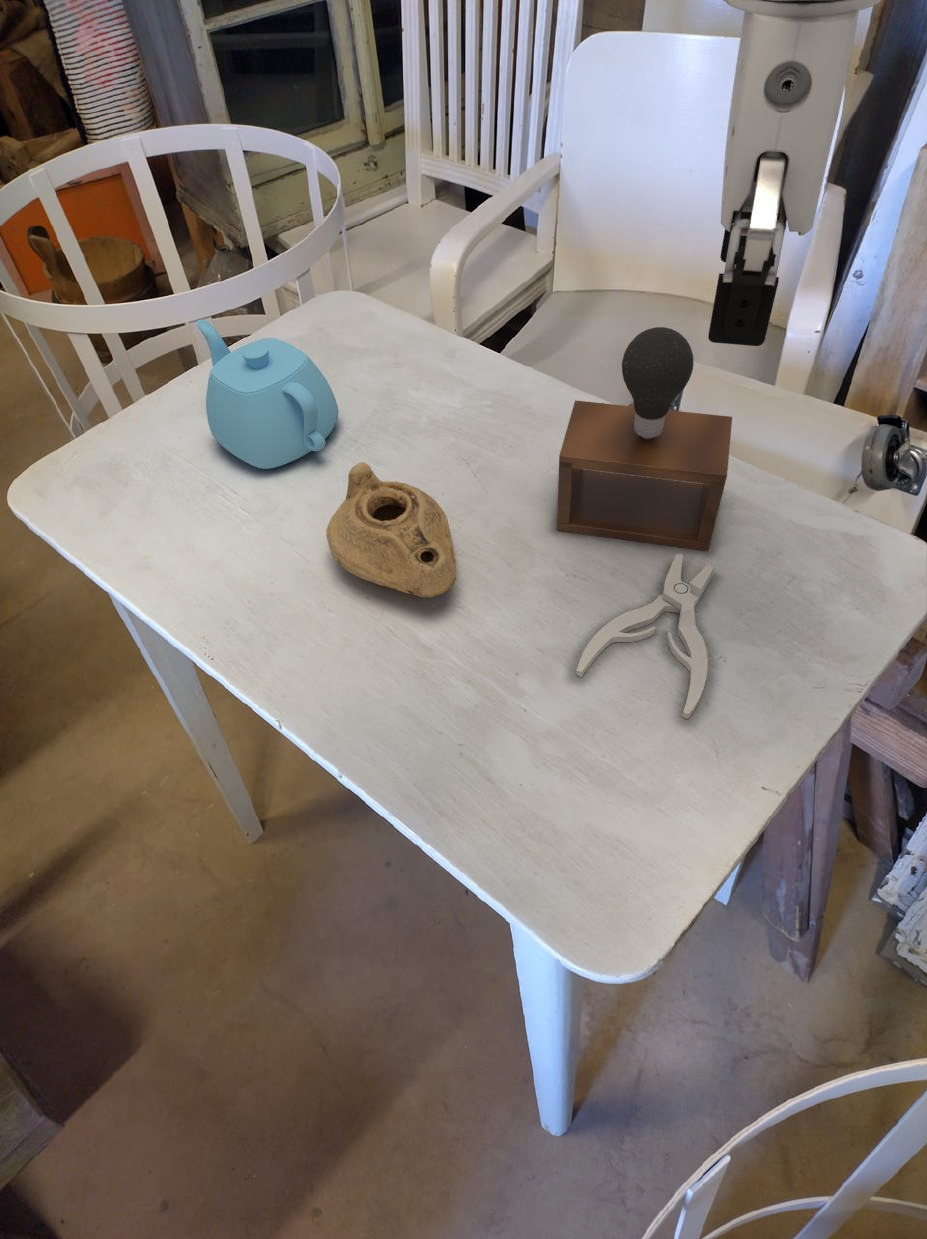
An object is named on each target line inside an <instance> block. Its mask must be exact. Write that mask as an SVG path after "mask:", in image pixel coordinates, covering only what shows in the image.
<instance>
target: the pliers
mask: <svg viewBox="0 0 927 1239" xmlns="http://www.w3.org/2000/svg"><path fill="white" fill-rule="evenodd" d="M683 560H684V554H681V553H680V554H679V553H676V554H675V556H674V558H673V560H672V563H671V565H670V568H669V570H668V572H667V574H666V577H665V578H664V584H663V592H662V594H659V595H658V596H657V598H655V599H654V601H652V602H650V603H648V604H646V605H643V606H642V607H639V608H635V609H631V610H627V611H625V612H624V613H621V614H619V615H618V616H615V617H614V618H613V619H611V620H610V621H608V623H606V624H605V625H604V626H602V627H601V628H600V629H599V630H598V631H597V632H596V633H595V634H594V636H593V637H592V638H591V639H590V641H588V643H587V645H586V646H585V648H584V650H583V651H582V653H581V656H580V658H579V661H578V663H577V667H576V671H575V676H577V677H580V678H582V677H583V676H584V674H585V673H586V672H587V670H588V669H589V667H590V666H591V665H592V664H593V662H594V661H595V660H596V659H597V657H598V656H599V655H600V654H601V653H602V652H603V651H604V650H605V649H606V648H607V647H609V645H611V644H614V643H634V642H639V641H642V640H644V639H647V638H649V637H651V636H653V635H655V634H656V630H657V628H656V627H655V626H651V627H650V628H648V629H645V630H643V631H639V632H633V633H628V632H631V631H633V630H636V629H639V628H641V627H645V626H647V625H652V624H653V623H654V622H655V621H656V620H658V618H659V617H660V616H661V615H662V614H663V613H664V612H666V613H667V612H669V613H675V614H676V613H677V614H679V619H678V624H677V634H678V636H679V638H680V640H681V642H682V644H683V646H684V648H685V651H686V652H687V655H686V654H685V653H683V652H682V651H681V650H680V649H679V647H678V646H677V644H676V643H675V641H674V639H673V635H672V632H670V631H669V632H667V635H666V640H667V644H668V645H667V646H668V647H669V650H670V652H671V654H672V655H673V656H674V658H675V659H676V660H677V661H678V662H679V663H680V664H681V665H683V666H684V667H685V668H686V669H687V670H688V671H689V673H690V674H689V685H688V691H687V697H686V700H685V705H684V708H683V710H682V714H681V717H682V718H683V719H686V720H688V719H689V718H690V717H691V715H692V714H693V713H694V711H695V709H696V708H697V706H698V704H699V703H700V700H701V697H702V695H703V693H704V689H705V686H706V681H707V677H708V668H709V667H708V666H709V665H708V651H707V646H706V642H705V640H704V637H703V636H702V634H701V633H700V631H699V629H698V627H697V626H696V614H695V606H696V605H697V604H698V602H699V601H700V599H701V597H702V596H703V594H704V592H705V590H706V589H707V586H708V585H709V584H710V581H711V580H712V577H713V574H714V569H715V566H713V565H711V564H709V563H707V564H706V565H705V566H704V567H703V568H702V569H701V570H700V571H699V572H697V574H696V575H695V576H694V577H693V578H692V579H691V580H690V581H689V582H688V583H686V582H684V581H683V580H682V579H681V577H682V570H683V569H682V568H683Z"/></svg>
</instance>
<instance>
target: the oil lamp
mask: <svg viewBox="0 0 927 1239" xmlns="http://www.w3.org/2000/svg"><path fill="white" fill-rule="evenodd" d="M347 479H348V480H347V491H346V494H345V495H346V496H345V499H344V500H343V502H342V503H341V504H340V506H339V507H338V509H336V511H335V512H334V514H332V516H331V518H330V520H329V522H328V524H327V527H326V529H325V530H326V531H325V534H326V539H327V543H328V547H329V549H330V552H331V555H332V557H333V558H334V559H335V561H337V563H338V564H339V565H340V566H341V567H342V568H343V569H345V571H347V572H349V573H350V574H352V575H354V576H356V577H358V578H359V579H362V580H364V581H368V582H371V583H373V584H376V585H379V586H383V587H387V588H389V589H393V590H396V591H399V592H402V593H405V594H409V595H413V596H417V597H421V598H432V597H436V596H440V595H442V594H445V593H446V592H448V591H449V590H450V589H451V588H452V587H453V585H454V584H455V582H456V581H457V561H456V554H455V548H454V543H453V539H452V535H451V529H450V524H449V520H448V518H447V517H448V516H447V514H446V513H445V511H444V510H443V509H442V507H441V506H440V505H439V503H438V502H437V501H436V500H435V499H434V498H433V497H432V496H430V495H429V494H428V493H427V492H426V491H423V490H421V489H420V488H419V487H415V486H414V485H410V484H409V483H406V482H400V481H397V480H396V481H395V480H394V481H392V480H391V481H383V480H380V479H379V478H378V476H377V475H376V474H375V472H374V471H373V470H372V468H371V467H370V465H369V464H368V463H366V462H364V461H361V462H359V463H356V464H355V465H354V466H352V467H351V469H350V470H349V472H348V478H347Z"/></svg>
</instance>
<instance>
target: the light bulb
mask: <svg viewBox="0 0 927 1239" xmlns="http://www.w3.org/2000/svg"><path fill="white" fill-rule="evenodd" d="M693 371H694V353H693V350H692V347H691V345H690V344H689V342H688V340H687V338H686V337H684V336H683V335H682V334H681V333H680V332H679V331H676V330H675V329H673V328H669V327H666V326H665V327H664V326H656V327H653V328H652V327H651V328H647V329H646V330H643V331H641V332H640V333H638V334H637V335H636V336H635V337H634V338H633V339H632V340H631V341H630V342H629V344H628V345H627V347H626V349H625V351H624V353H623V357H622V361H621V372H622V373H621V374H622V378H623V379H622V380H623V382H624V384H625V386H626V389H627V391H628V392H629V394H630V396H631V397H632V400H633V406H634V409H635V412H636V415H635V421H634V422H635V423H634V427H635V428H634V429H635V432H636V433H637V434H638V435H640V436H642V437H643V438H645V439H651V438H652V437H656V436H658V435H660V434H661V432H662V429H663V427H664V421H665V415H666V413H667V412H668V410H670V407H671V404H672V403H673V401H674V400H675V399H676V398H677V397H678V396H679V395H680V394H681V392H683V390H684V389H685V388H686V386H687V384H688V383H689V381H690V379H691V377H692V374H693Z"/></svg>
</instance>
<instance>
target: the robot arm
mask: <svg viewBox="0 0 927 1239" xmlns="http://www.w3.org/2000/svg"><path fill="white" fill-rule="evenodd" d="M722 1H723V2H725V3H726V5H728V6H730V7H731V8H734V9H737V10H740V11H743V19H742V26H741V32H740V39H739V44H738V52H737V57H736V63H735V72H734V79H733V85H732V92H731V94H732V95H731V100H730V107H729V114H728V124H727V133H726V141H725V151H724V159H723V160H724V162H723V164H724V165H723V177H722V190H721V193H722V194H721V207H720V208H721V210H720V225H722V227H723V228H724V233H723V239H722V244H721V251H720V260H721V262H723V263H725V266H724V273H723V272H722V273H721V272H719V273H718V277H717V284H716V289H715V290H716V291H715V295H714V302H713V305H712V311H711V318H710V324H709V330H708V335H707V337H708V338H707V339H708V340H709V342H710V343H714V344H725V345H737V346H749V347H760V346H762V345H763V344H764V343H765V340H766V336H767V332H768V328H769V324H770V320H771V316H772V311H773V307H774V303H775V300H776V299H775V298H776V294H777V290H778V285H779V280H780V277H779V276H778V272H779V265H780V261H781V260H780V259H781V255H782V249H783V243H784V239H785V238H784V237H785V233H786V230H787V228H788V231H789V233H790V232H791V233H798V234H797V235H798V236H805V235H806V234H808V233H809V232H810V231H812V229H813V227H814V223H815V218H816V215H817V214H816V213H817V209H818V204H819V200H820V197H821V196H820V195H821V191H822V186H823V182H824V179H825V174H826V169H827V165H828V160H829V156H830V153H831V152H830V151H831V147H832V144H833V139H834V135H835V131H836V128H837V127H836V126H837V122H838V118H839V113H840V109H841V104H842V101H843V97H844V96H843V95H844V91H845V88H846V83H847V78H848V72H849V68H850V64H851V59H852V53H853V48H854V44H855V43H854V42H855V37H856V33H857V27H858V20H859V13H860V11H864V10H867V9H869V8H873V7H874V6H877V5H878V4H879V3H880V2H882V0H722Z"/></svg>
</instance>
